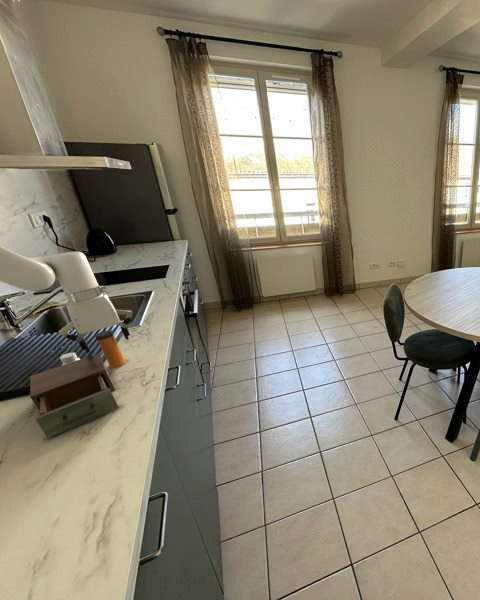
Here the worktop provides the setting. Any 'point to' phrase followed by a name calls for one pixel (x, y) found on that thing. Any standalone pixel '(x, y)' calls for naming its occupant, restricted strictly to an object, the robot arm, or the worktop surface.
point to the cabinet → (68, 377)
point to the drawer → (74, 405)
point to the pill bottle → (68, 358)
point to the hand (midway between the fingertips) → (108, 344)
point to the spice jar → (110, 348)
